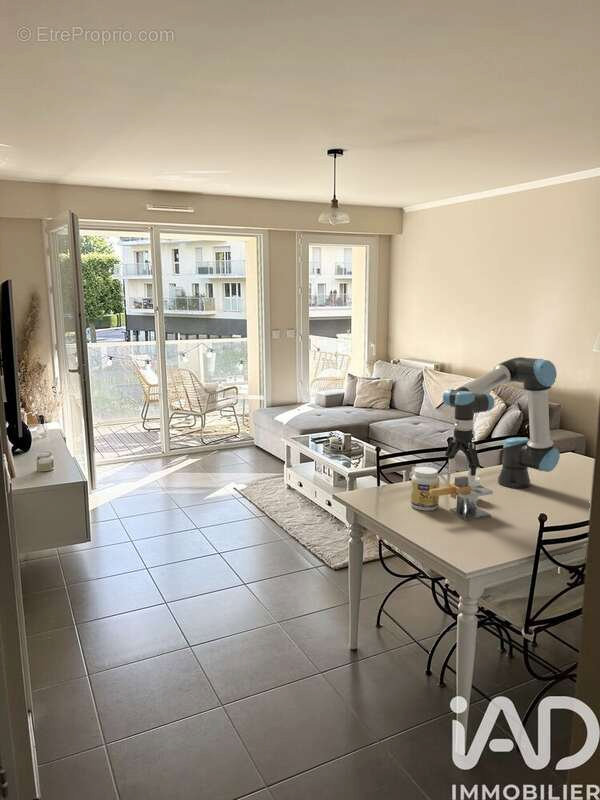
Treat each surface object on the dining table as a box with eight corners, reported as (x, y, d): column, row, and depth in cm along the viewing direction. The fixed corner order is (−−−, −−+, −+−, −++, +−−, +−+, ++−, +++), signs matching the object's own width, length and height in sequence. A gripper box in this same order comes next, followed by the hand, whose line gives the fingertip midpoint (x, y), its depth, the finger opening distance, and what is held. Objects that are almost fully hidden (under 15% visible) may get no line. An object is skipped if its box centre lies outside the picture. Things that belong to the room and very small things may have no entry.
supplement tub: (416, 512, 256) (417, 474, 253) (406, 502, 268) (407, 466, 265) (442, 510, 258) (444, 473, 255) (432, 501, 270) (433, 465, 267)
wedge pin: (462, 511, 254) (465, 475, 251) (467, 513, 251) (469, 477, 248) (452, 513, 252) (454, 477, 249) (456, 515, 249) (458, 479, 246)
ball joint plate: (472, 507, 262) (473, 481, 260) (491, 516, 251) (492, 489, 249) (444, 511, 257) (445, 485, 254) (462, 521, 245) (463, 494, 243)
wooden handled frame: (460, 493, 254) (461, 482, 254) (470, 498, 249) (470, 486, 248) (426, 498, 248) (427, 487, 247) (435, 503, 242) (435, 492, 241)
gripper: (438, 423, 255) (436, 470, 259) (475, 436, 233) (472, 487, 236) (452, 422, 258) (450, 468, 262) (490, 434, 235) (488, 485, 239)
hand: (461, 477), depth 249 cm, fingers open, 13 cm apart
